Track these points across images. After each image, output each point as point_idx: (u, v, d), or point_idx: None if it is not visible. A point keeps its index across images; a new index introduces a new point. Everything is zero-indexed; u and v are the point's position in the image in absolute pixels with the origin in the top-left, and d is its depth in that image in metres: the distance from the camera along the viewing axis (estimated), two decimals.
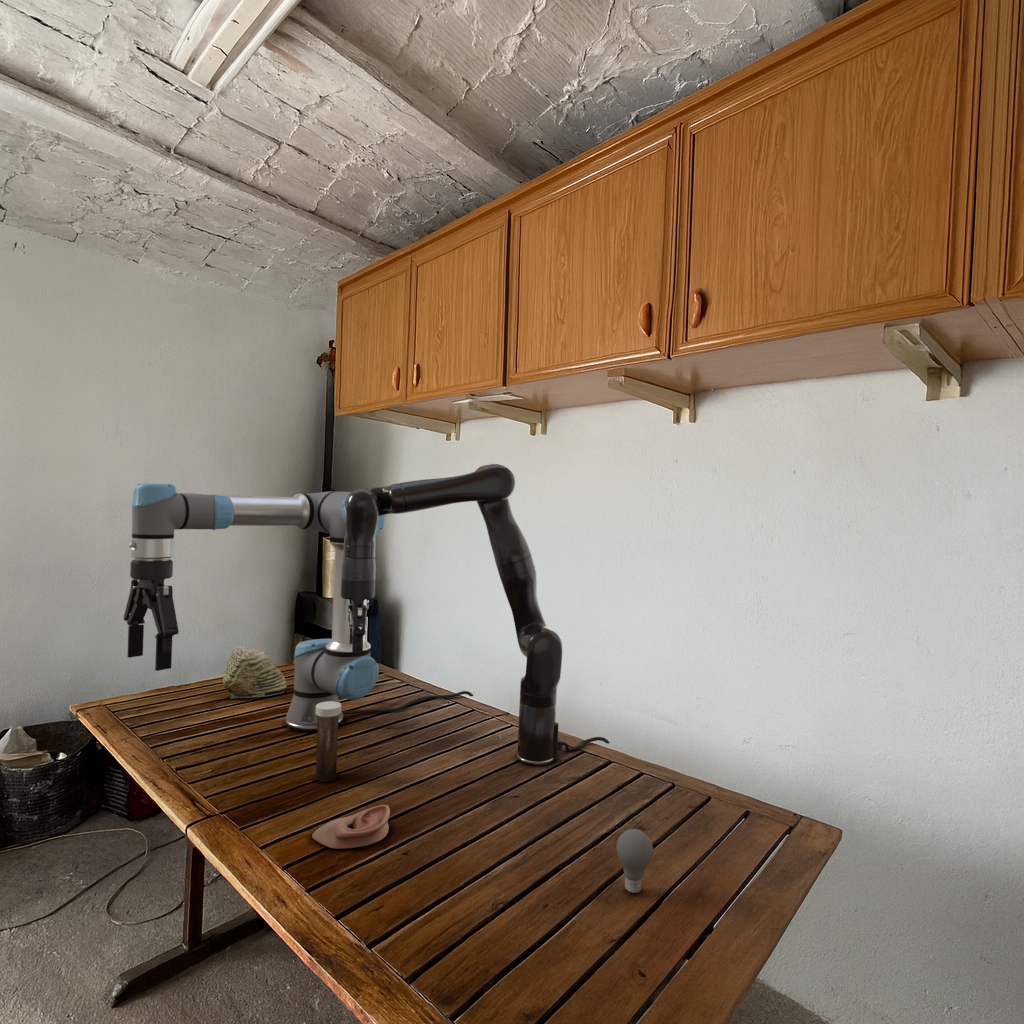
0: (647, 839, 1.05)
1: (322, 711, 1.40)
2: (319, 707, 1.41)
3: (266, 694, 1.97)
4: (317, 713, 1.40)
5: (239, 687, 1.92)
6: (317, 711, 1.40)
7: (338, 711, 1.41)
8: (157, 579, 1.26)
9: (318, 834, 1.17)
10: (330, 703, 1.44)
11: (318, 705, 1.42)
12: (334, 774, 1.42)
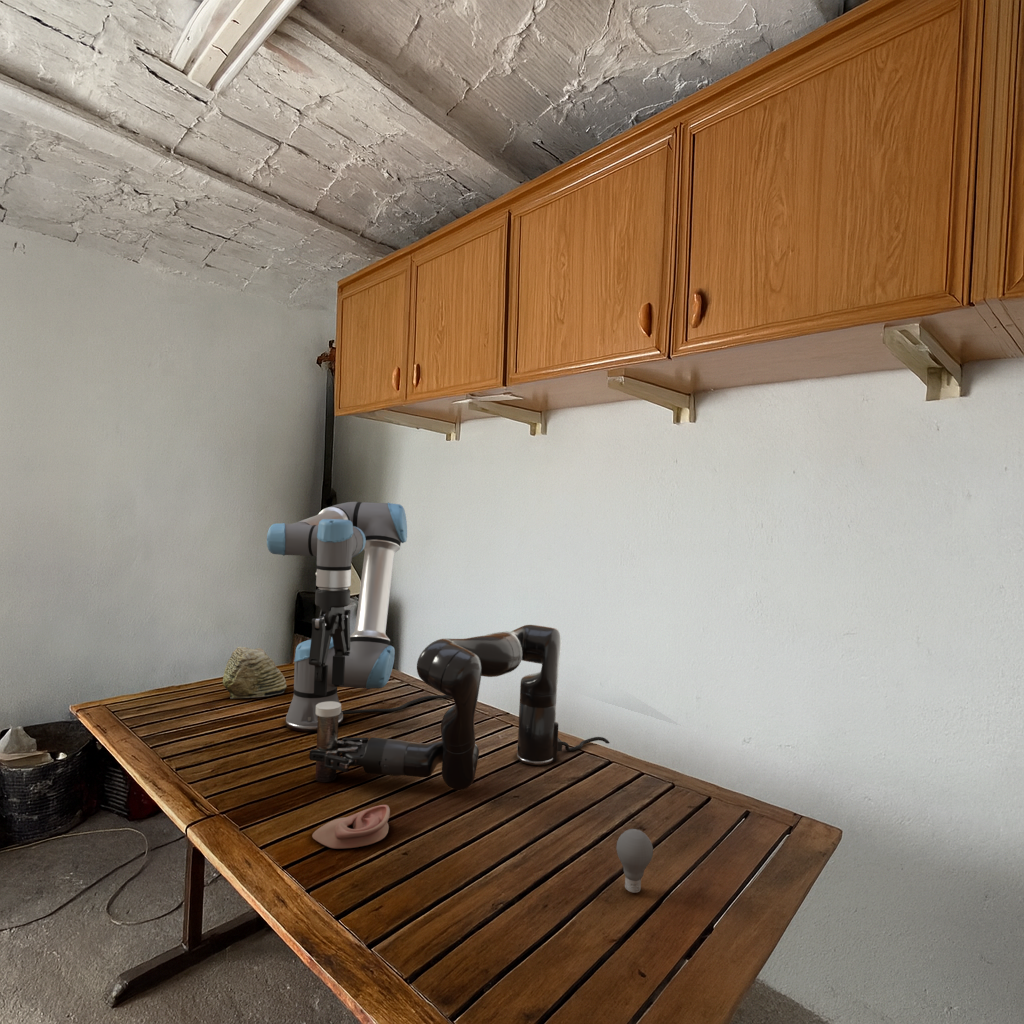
0: (647, 839, 1.05)
1: (322, 711, 1.40)
2: (319, 707, 1.41)
3: (266, 694, 1.97)
4: (317, 713, 1.40)
5: (239, 687, 1.92)
6: (317, 711, 1.40)
7: (338, 711, 1.41)
8: (322, 607, 1.38)
9: (318, 834, 1.17)
10: (330, 703, 1.44)
11: (318, 705, 1.42)
12: (334, 774, 1.42)
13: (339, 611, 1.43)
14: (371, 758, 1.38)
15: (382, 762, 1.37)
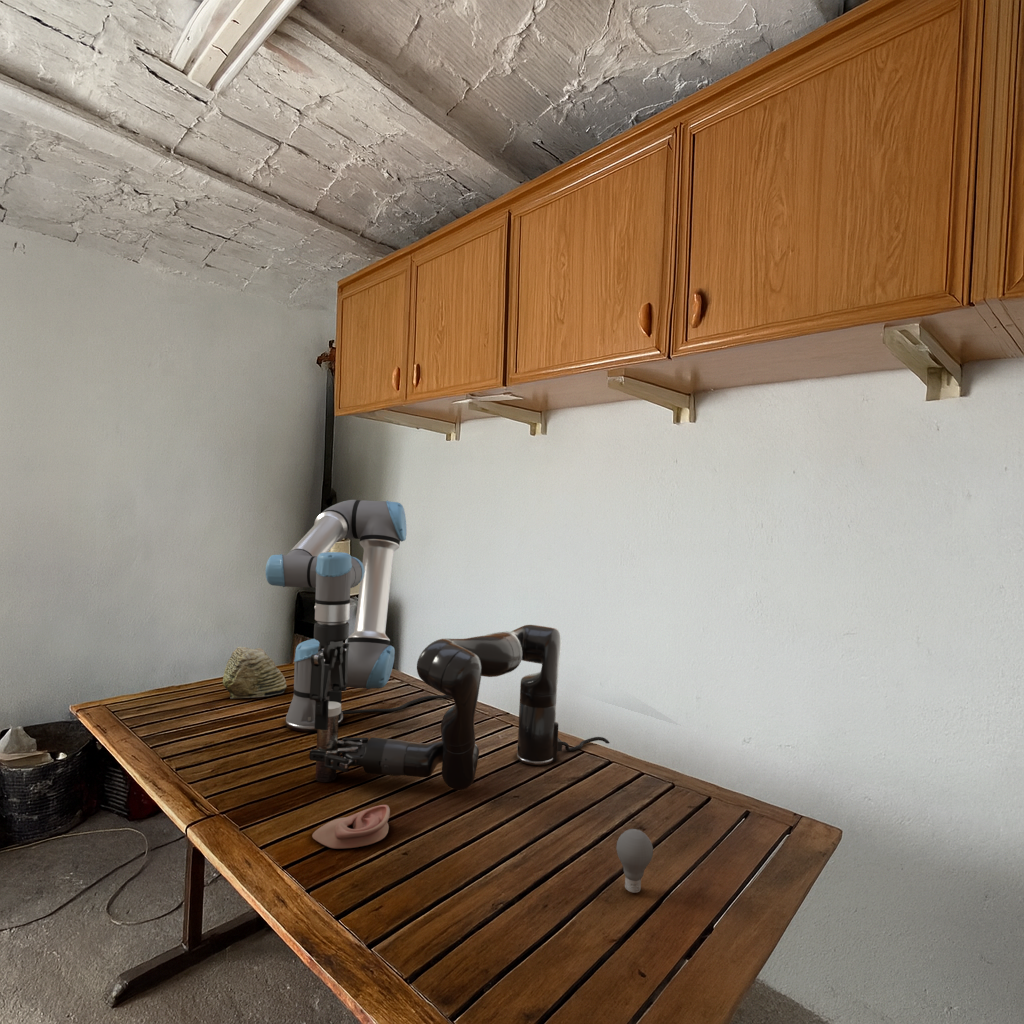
0: (647, 839, 1.05)
1: None
2: None
3: (266, 694, 1.97)
4: None
5: (239, 687, 1.92)
6: None
7: (338, 711, 1.41)
8: (321, 642, 1.39)
9: (318, 834, 1.17)
10: (330, 703, 1.44)
11: None
12: (334, 774, 1.42)
13: (338, 644, 1.43)
14: (371, 758, 1.38)
15: (382, 762, 1.37)
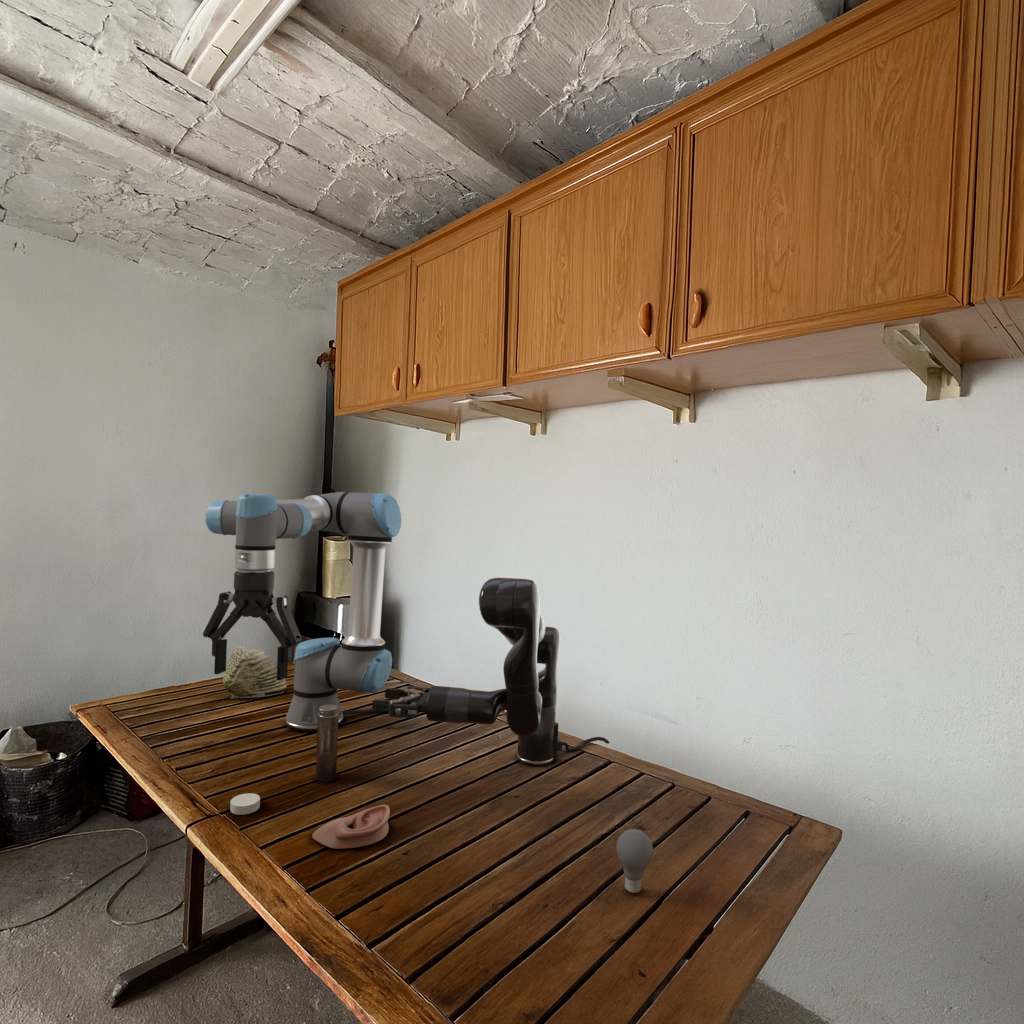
0: (647, 839, 1.05)
1: (258, 803, 1.28)
2: (252, 802, 1.26)
3: (266, 694, 1.97)
4: (253, 809, 1.26)
5: (239, 687, 1.92)
6: (253, 807, 1.26)
7: None
8: (270, 591, 1.26)
9: (318, 834, 1.17)
10: (238, 799, 1.27)
11: (245, 804, 1.26)
12: (334, 774, 1.42)
13: None
14: (435, 705, 1.36)
15: (446, 708, 1.35)
